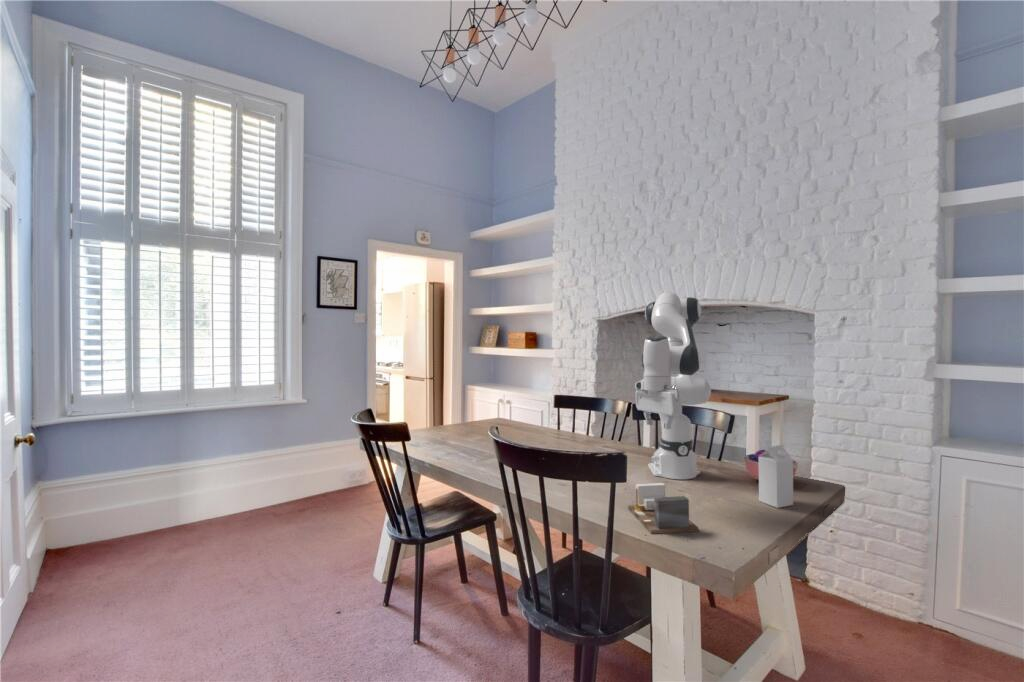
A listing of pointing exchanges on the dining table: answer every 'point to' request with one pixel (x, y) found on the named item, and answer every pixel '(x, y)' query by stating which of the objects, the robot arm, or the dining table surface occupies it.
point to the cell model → (753, 464)
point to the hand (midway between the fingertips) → (658, 426)
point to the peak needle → (637, 502)
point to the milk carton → (776, 477)
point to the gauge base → (652, 524)
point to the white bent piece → (649, 494)
